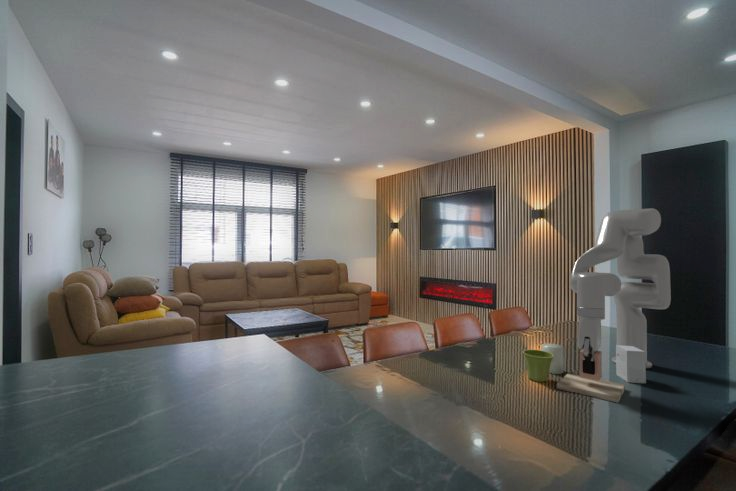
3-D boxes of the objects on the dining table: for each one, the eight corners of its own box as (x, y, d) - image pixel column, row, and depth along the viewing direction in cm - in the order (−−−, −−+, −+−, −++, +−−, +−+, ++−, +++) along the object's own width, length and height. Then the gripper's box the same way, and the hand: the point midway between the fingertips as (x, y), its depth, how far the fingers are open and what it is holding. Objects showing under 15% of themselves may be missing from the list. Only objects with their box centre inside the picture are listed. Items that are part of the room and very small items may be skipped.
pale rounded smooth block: (545, 366, 136) (545, 342, 137) (565, 370, 132) (565, 345, 132) (539, 371, 131) (539, 345, 131) (560, 375, 126) (560, 349, 127)
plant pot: (553, 377, 125) (553, 351, 125) (554, 386, 116) (554, 358, 116) (523, 373, 129) (523, 348, 129) (522, 381, 120) (522, 354, 120)
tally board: (568, 377, 124) (568, 373, 124) (625, 389, 114) (625, 384, 114) (556, 388, 114) (556, 383, 114) (618, 402, 103) (618, 397, 103)
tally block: (583, 373, 117) (583, 348, 118) (601, 377, 114) (601, 351, 114) (579, 377, 114) (579, 351, 114) (598, 381, 110) (598, 354, 111)
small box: (646, 384, 119) (646, 351, 119) (627, 382, 120) (626, 350, 120) (633, 376, 127) (633, 345, 127) (615, 374, 128) (615, 344, 128)
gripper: (583, 309, 123) (583, 363, 123) (570, 314, 111) (570, 375, 110) (609, 311, 118) (609, 368, 118) (599, 317, 106) (599, 381, 105)
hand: (590, 370), depth 114 cm, fingers closed on tally block, 5 cm apart
